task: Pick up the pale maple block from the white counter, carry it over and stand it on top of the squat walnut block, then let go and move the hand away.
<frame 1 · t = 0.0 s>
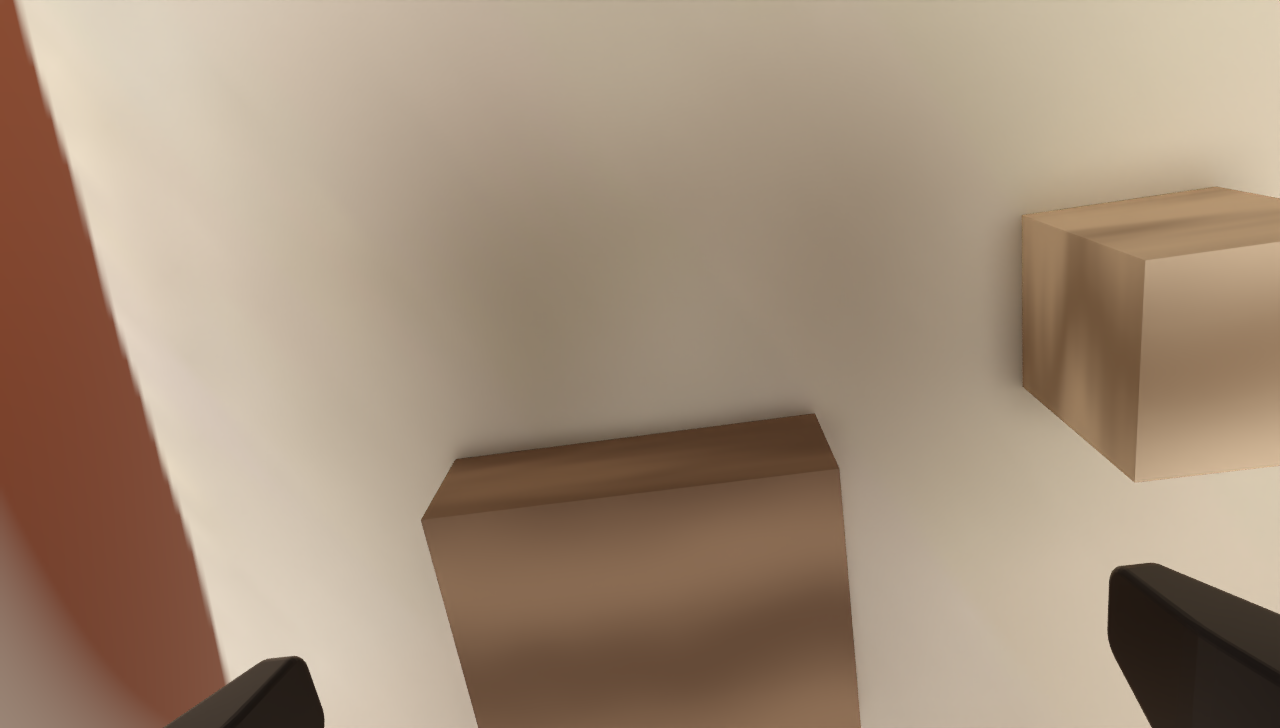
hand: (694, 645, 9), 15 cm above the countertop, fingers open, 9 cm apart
walnut block: (658, 583, 26), on the countertop
maple block: (1114, 290, 22), on the countertop
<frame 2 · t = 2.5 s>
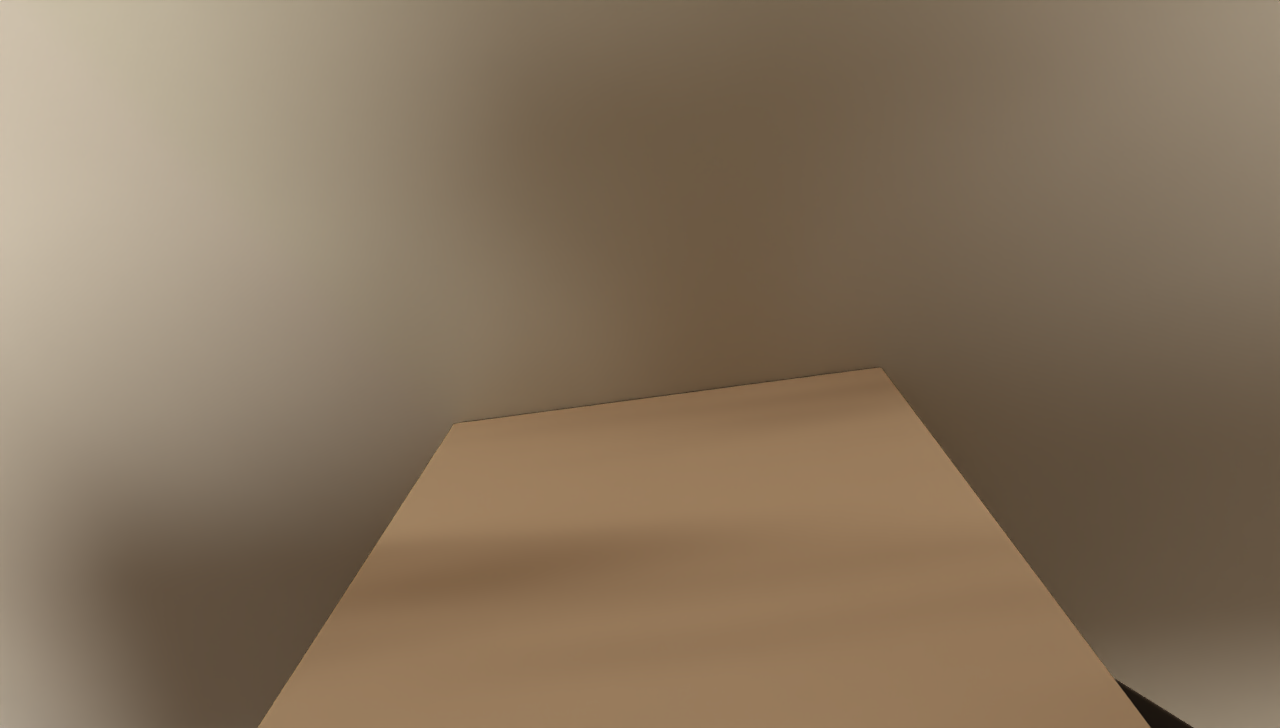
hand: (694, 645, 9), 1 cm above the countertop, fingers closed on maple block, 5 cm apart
maple block: (691, 579, 10), on the countertop, touching gripper
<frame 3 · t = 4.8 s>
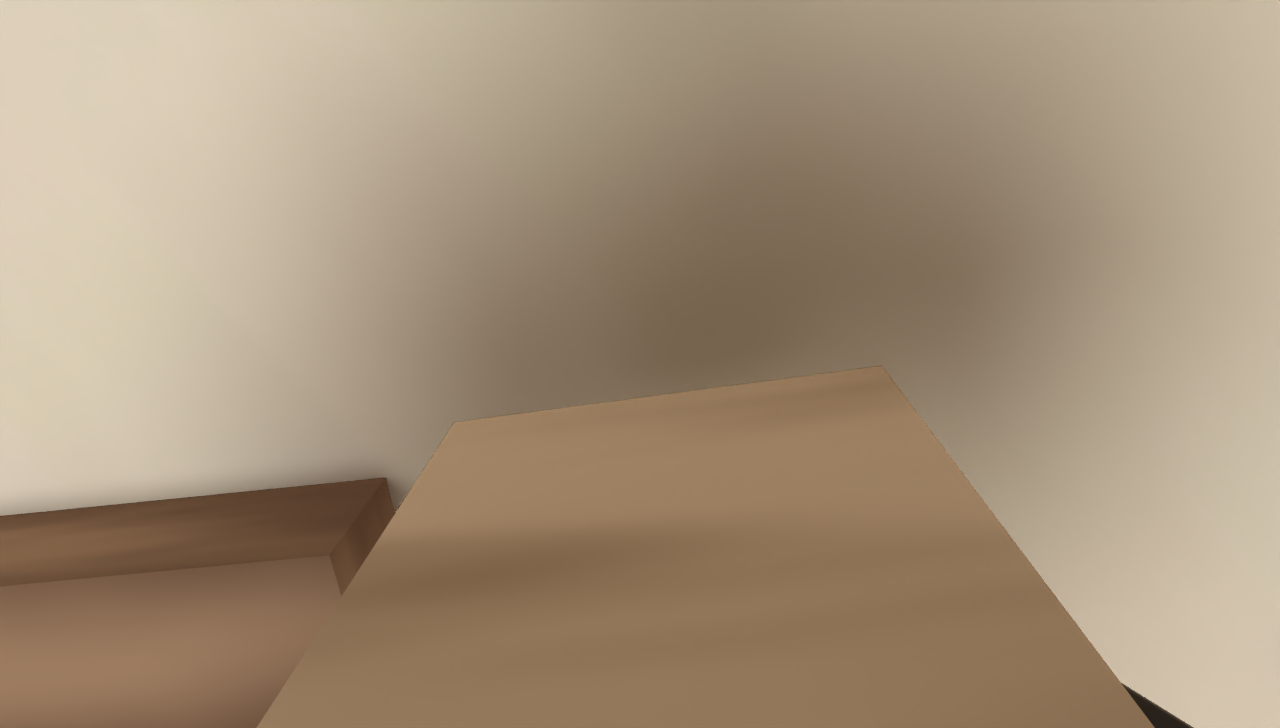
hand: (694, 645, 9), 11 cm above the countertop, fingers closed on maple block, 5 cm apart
walnut block: (250, 658, 23), on the countertop
maple block: (691, 578, 10), point 10 cm above the countertop, touching gripper
when the fingers open (6 cm above the countertop, at t = 7.3 s): maple block drops 2 cm, resting on walnut block.
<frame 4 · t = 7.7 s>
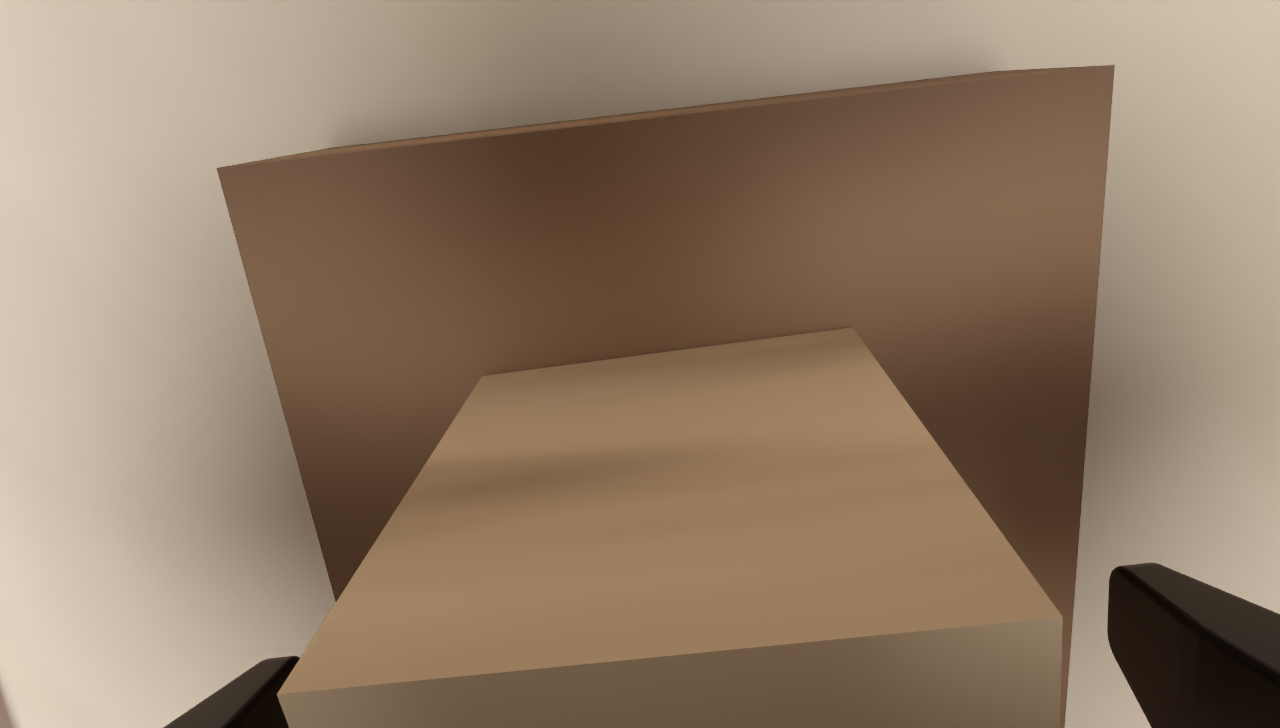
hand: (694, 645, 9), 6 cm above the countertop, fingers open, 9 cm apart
walnut block: (684, 409, 15), on the countertop, touching maple block
maple block: (688, 515, 12), point 4 cm above the countertop, touching walnut block
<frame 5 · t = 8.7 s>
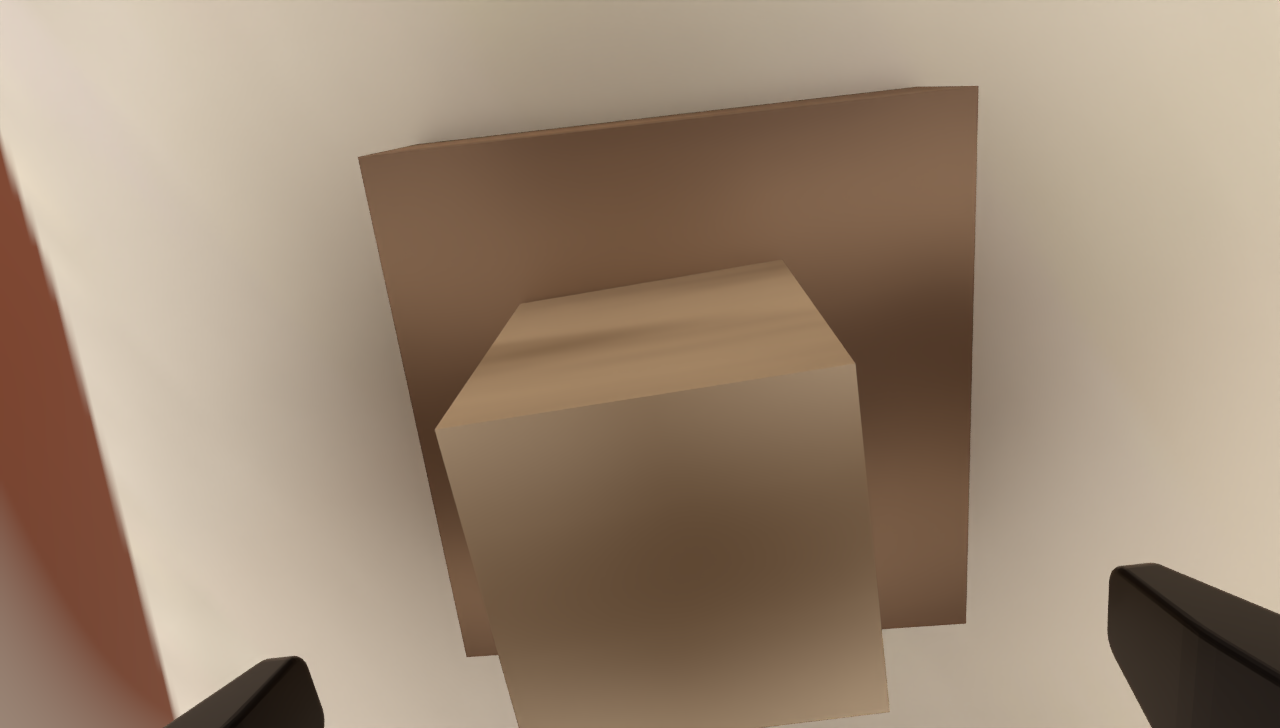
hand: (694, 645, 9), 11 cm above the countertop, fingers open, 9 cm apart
walnut block: (684, 348, 20), on the countertop, touching maple block
maple block: (671, 404, 16), point 4 cm above the countertop, touching walnut block
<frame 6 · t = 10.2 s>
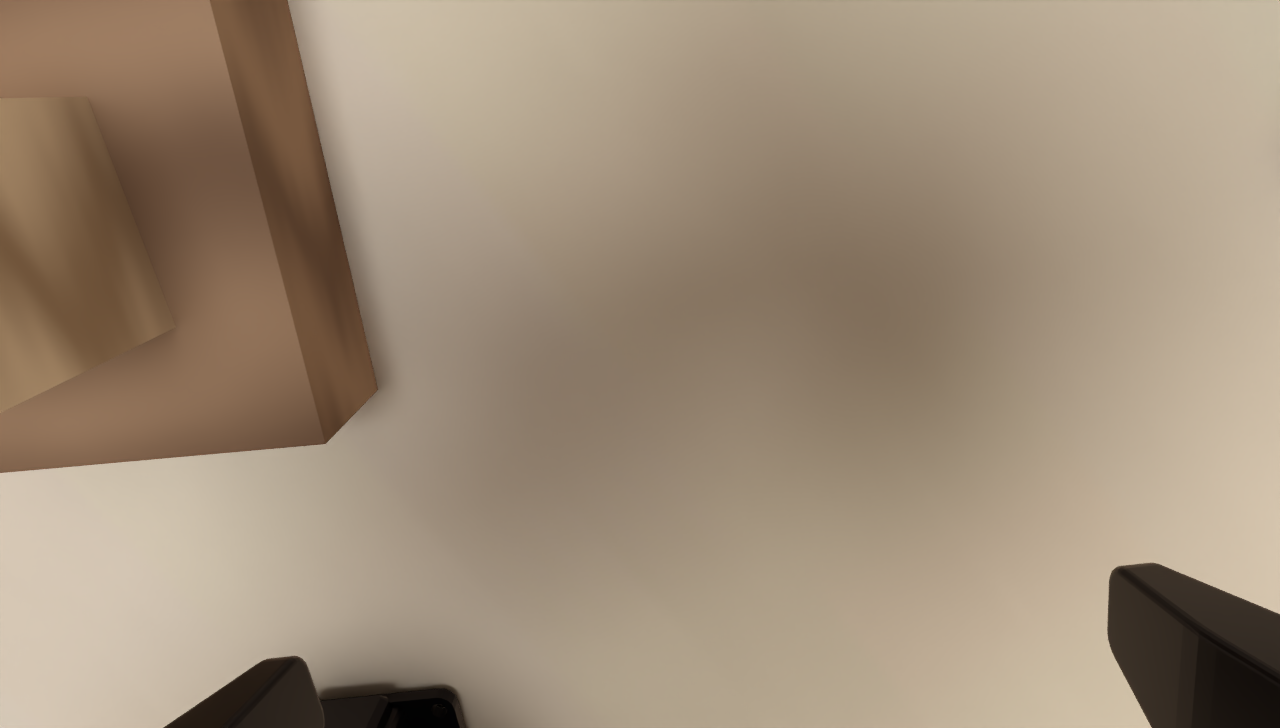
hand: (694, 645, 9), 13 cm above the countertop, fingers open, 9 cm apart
walnut block: (137, 209, 21), on the countertop, touching maple block
maple block: (27, 237, 17), point 4 cm above the countertop, touching walnut block
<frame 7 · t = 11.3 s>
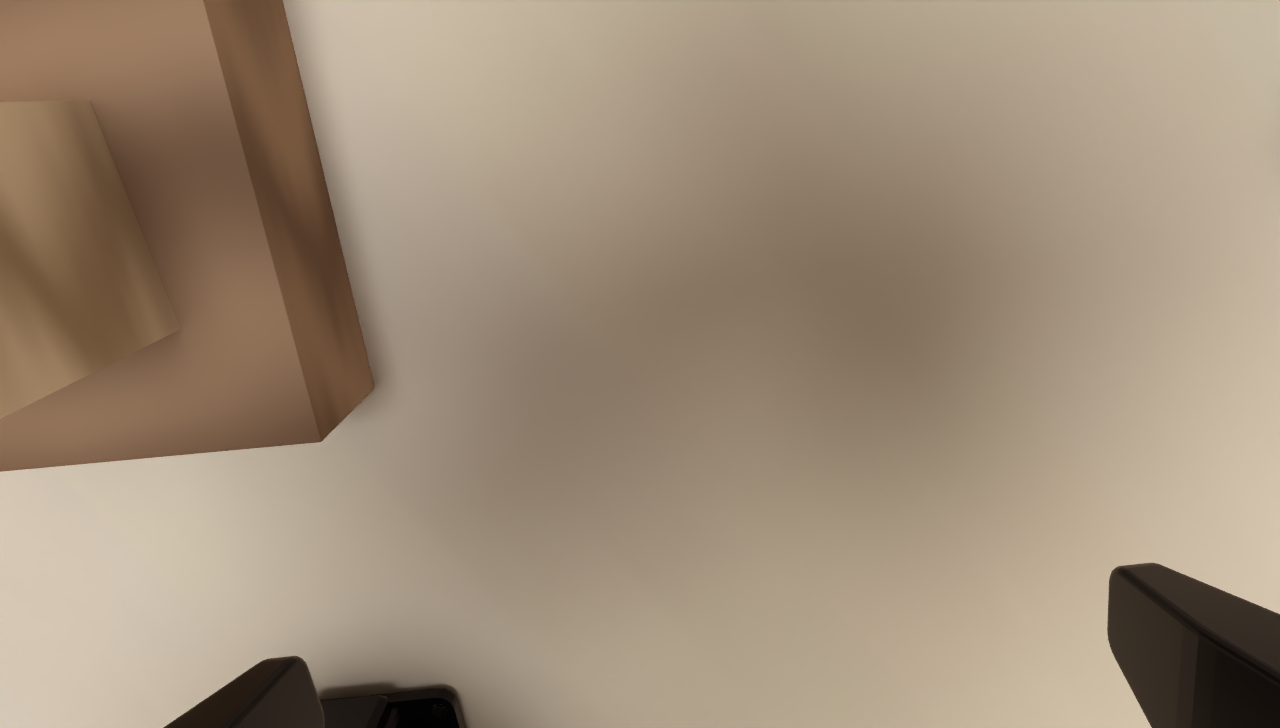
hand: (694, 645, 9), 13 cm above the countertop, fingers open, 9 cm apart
walnut block: (133, 208, 21), on the countertop, touching maple block
maple block: (31, 241, 17), point 4 cm above the countertop, touching walnut block
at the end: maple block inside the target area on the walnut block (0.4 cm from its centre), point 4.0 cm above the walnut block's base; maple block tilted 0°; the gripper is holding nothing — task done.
